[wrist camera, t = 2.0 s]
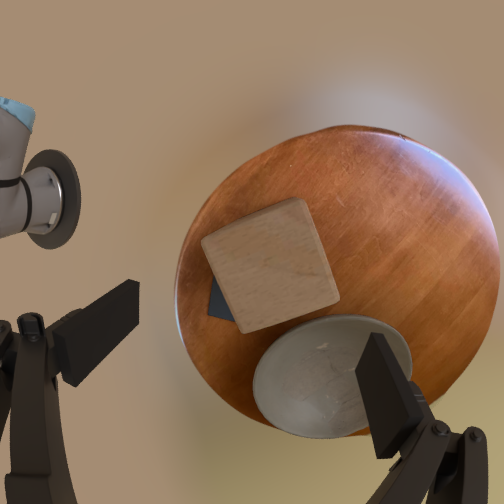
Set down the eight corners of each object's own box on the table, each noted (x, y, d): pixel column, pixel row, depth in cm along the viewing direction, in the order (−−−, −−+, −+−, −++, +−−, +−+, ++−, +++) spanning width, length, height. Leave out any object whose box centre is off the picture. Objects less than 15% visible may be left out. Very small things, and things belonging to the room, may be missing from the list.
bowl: (270, 418, 54) (267, 445, 46) (245, 307, 48) (237, 330, 40) (392, 399, 49) (402, 425, 41) (401, 282, 43) (419, 301, 35)
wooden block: (236, 219, 44) (197, 240, 25) (295, 195, 42) (304, 196, 23) (260, 277, 46) (241, 337, 26) (318, 255, 44) (342, 302, 24)
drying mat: (208, 313, 49) (207, 314, 49) (216, 260, 47) (215, 261, 46) (263, 326, 48) (263, 328, 48) (276, 274, 46) (276, 275, 45)
